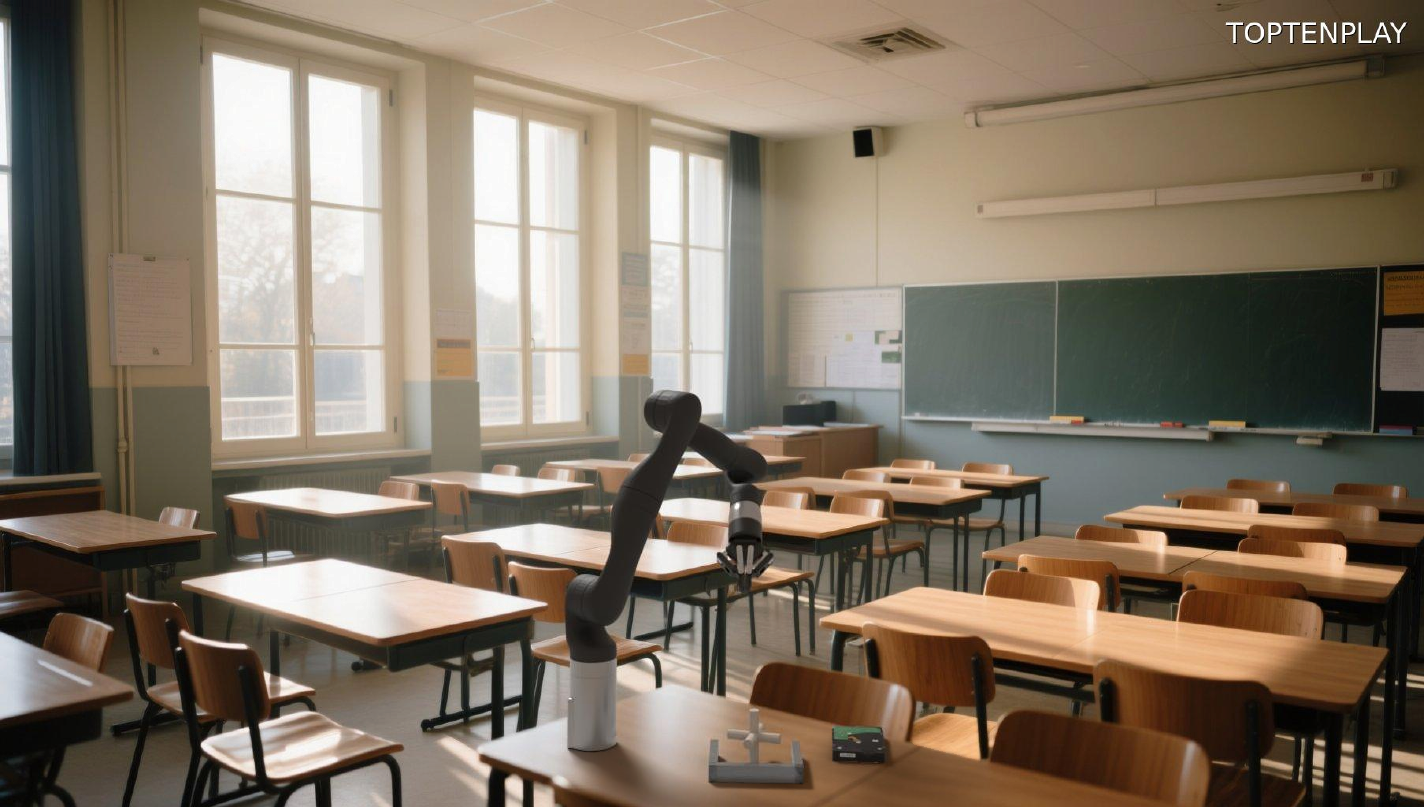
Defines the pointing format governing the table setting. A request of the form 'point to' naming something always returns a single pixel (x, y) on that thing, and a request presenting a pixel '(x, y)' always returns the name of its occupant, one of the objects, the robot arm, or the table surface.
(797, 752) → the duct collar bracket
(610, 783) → the table surface
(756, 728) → the pipe connector
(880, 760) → the disk drive
